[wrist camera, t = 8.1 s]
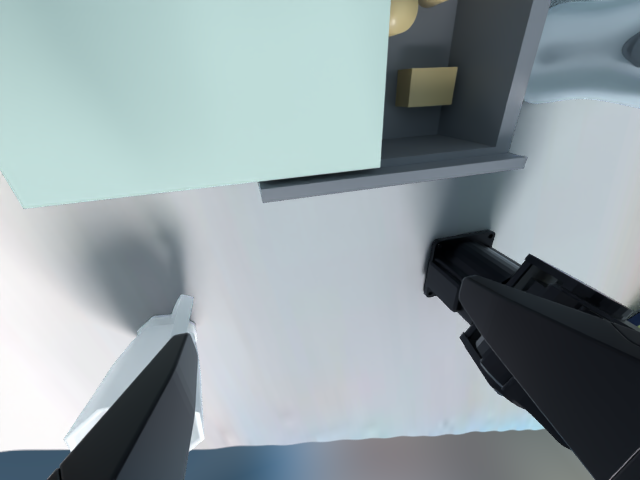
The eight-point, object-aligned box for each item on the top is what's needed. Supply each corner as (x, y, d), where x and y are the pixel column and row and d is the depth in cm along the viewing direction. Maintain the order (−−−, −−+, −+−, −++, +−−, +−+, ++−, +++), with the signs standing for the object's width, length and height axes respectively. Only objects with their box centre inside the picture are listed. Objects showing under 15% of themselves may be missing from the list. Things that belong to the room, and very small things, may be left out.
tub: (481, -108, 15) (655, -248, 9) (440, 145, 21) (523, 168, 15) (205, -141, 12) (173, -389, 6) (253, 165, 18) (263, 203, 12)
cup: (108, 359, 22) (52, 479, 15) (140, 257, 19) (87, 351, 12) (199, 368, 25) (186, 472, 18) (240, 281, 22) (242, 368, 15)
